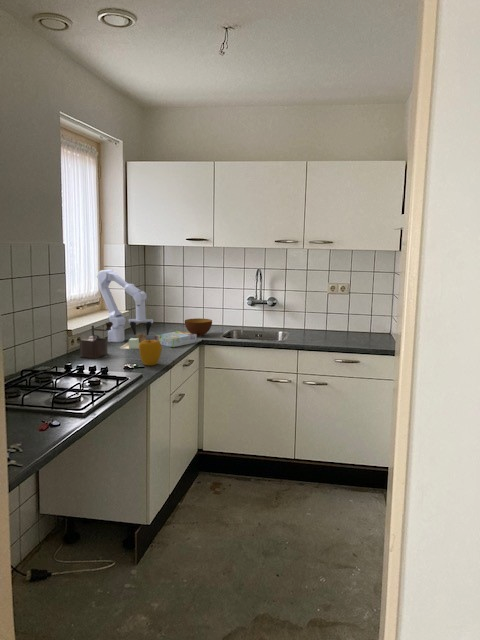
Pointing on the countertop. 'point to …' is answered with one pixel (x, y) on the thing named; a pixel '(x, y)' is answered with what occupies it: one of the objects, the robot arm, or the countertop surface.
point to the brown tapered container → (94, 344)
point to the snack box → (176, 338)
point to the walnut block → (141, 336)
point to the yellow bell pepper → (150, 352)
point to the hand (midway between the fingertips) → (141, 334)
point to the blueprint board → (127, 346)
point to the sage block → (134, 343)
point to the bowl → (198, 326)
